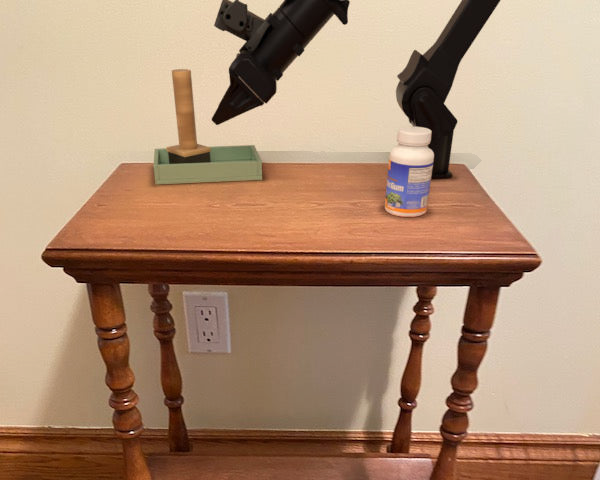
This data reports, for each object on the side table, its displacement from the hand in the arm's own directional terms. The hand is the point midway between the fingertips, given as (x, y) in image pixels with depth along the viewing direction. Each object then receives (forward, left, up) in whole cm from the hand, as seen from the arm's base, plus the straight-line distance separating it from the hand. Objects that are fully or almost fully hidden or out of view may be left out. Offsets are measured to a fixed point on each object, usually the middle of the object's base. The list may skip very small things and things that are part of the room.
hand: (217, 115), depth 89 cm
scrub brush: (+5, 0, -7) cm, 9 cm away
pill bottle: (-22, +21, -8) cm, 31 cm away
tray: (+2, 0, -8) cm, 8 cm away
